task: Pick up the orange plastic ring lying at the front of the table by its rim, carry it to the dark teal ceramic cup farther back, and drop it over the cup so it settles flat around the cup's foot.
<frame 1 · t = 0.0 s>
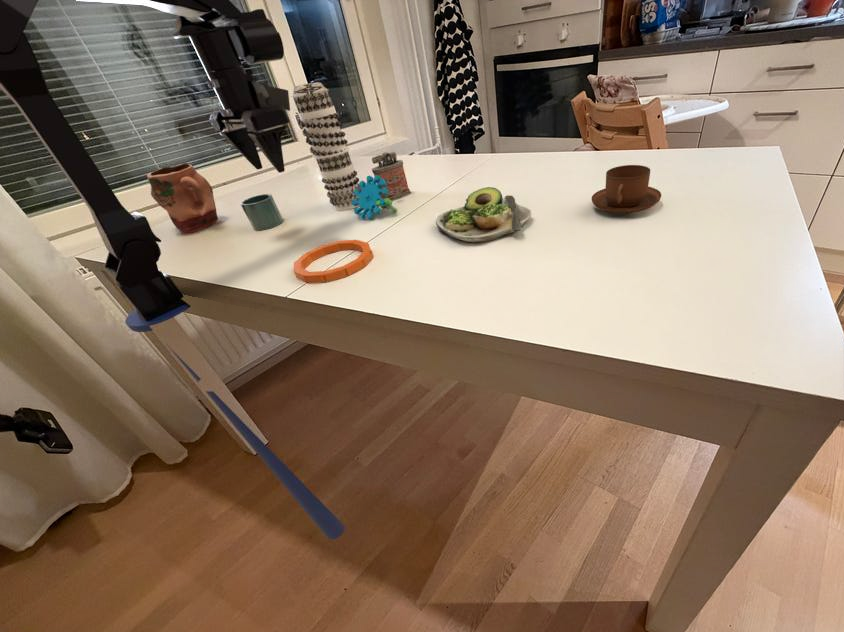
hand: (270, 170, 75), 14 cm above the table, tool pointing down, fingers open, 9 cm apart
avocado toast plate: (484, 224, 77), on the table
decorative planter: (204, 226, 102), on the table
cup and saucer: (624, 207, 73), on the table
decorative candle: (349, 205, 99), on the table
ring: (335, 263, 72), on the table
lighter: (396, 197, 98), on the table
cup: (268, 224, 95), on the table
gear: (377, 215, 90), on the table
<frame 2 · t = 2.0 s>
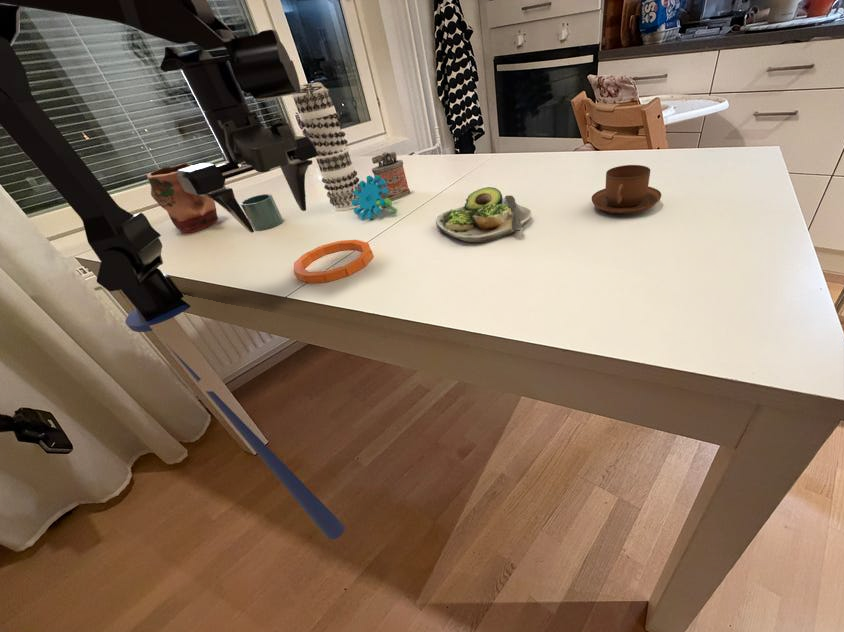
hand: (278, 220, 63), 10 cm above the table, tool pointing down, fingers open, 9 cm apart
nothing on the table moved.
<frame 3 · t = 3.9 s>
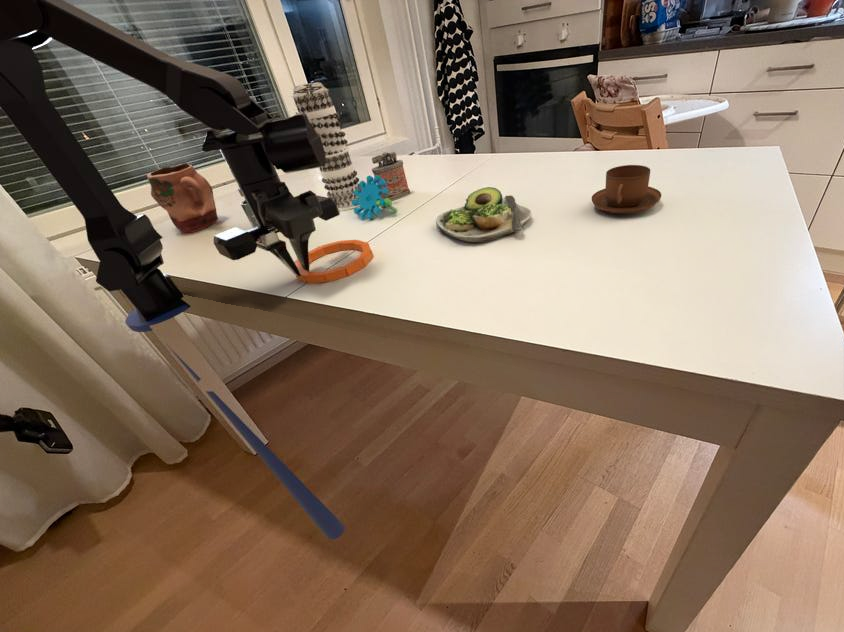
hand: (302, 273, 68), 1 cm above the table, tool pointing down, fingers closed on ring, 1 cm apart
ring: (335, 263, 72), on the table, touching gripper
everything else where it was.
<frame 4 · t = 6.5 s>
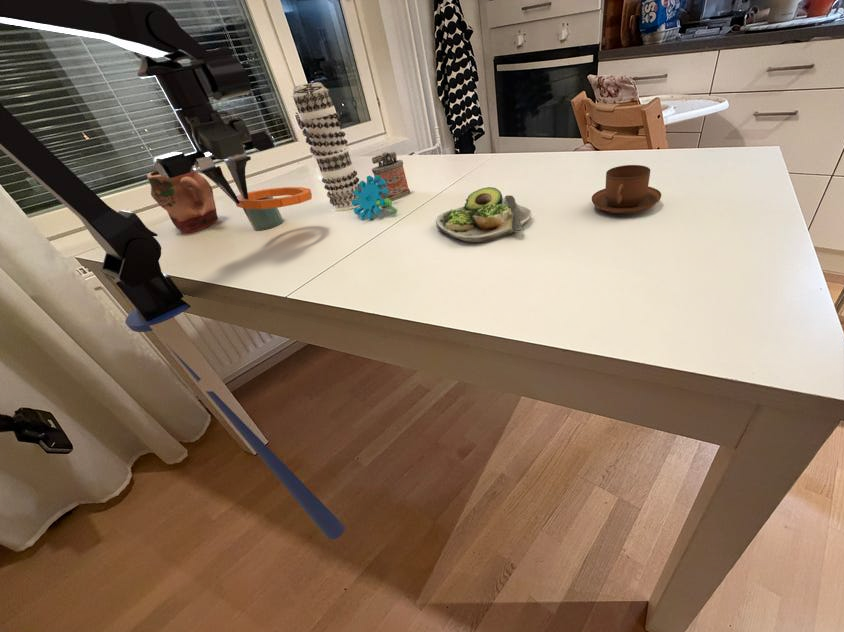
hand: (242, 201, 75), 10 cm above the table, tool pointing down, fingers closed on ring
ring: (275, 201, 79), point 8 cm above the table, tilted 9°, touching gripper
everything else where it was.
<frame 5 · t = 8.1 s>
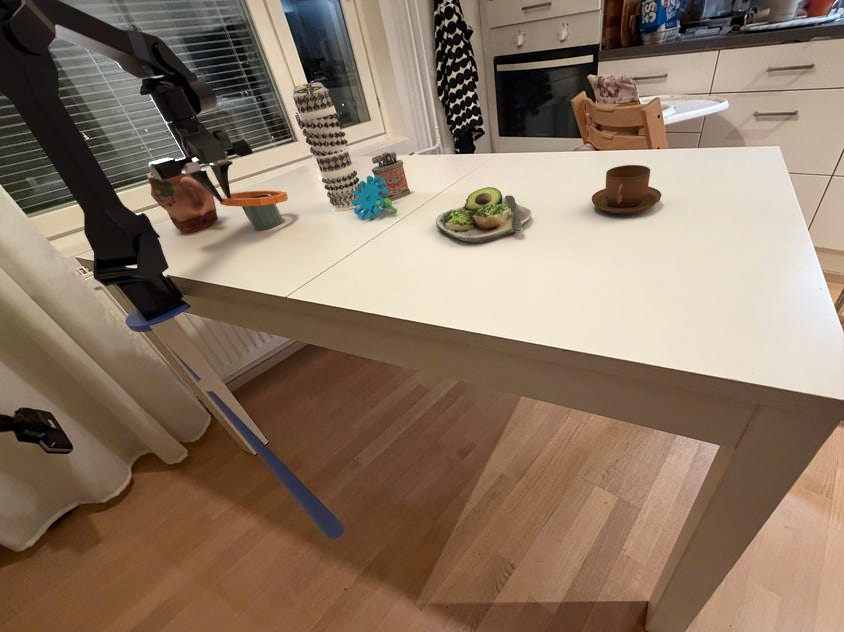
hand: (225, 200, 87), 8 cm above the table, tool pointing down, fingers closed on ring
ring: (255, 201, 91), point 6 cm above the table, tilted 12°, touching gripper
everything else where it was.
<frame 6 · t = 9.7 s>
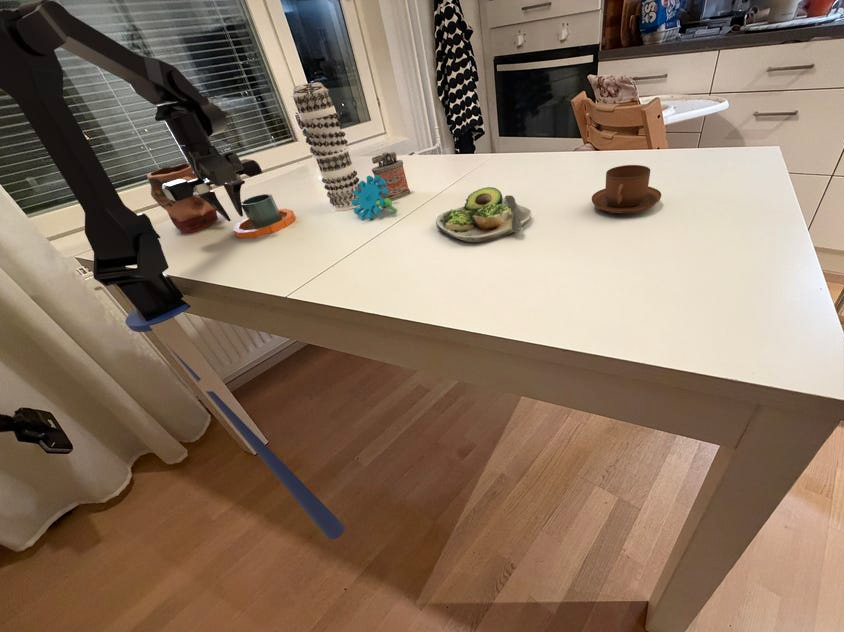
hand: (235, 218, 89), 4 cm above the table, tool pointing down, fingers open, 3 cm apart
ring: (266, 225, 95), on the table
everything else where it was.
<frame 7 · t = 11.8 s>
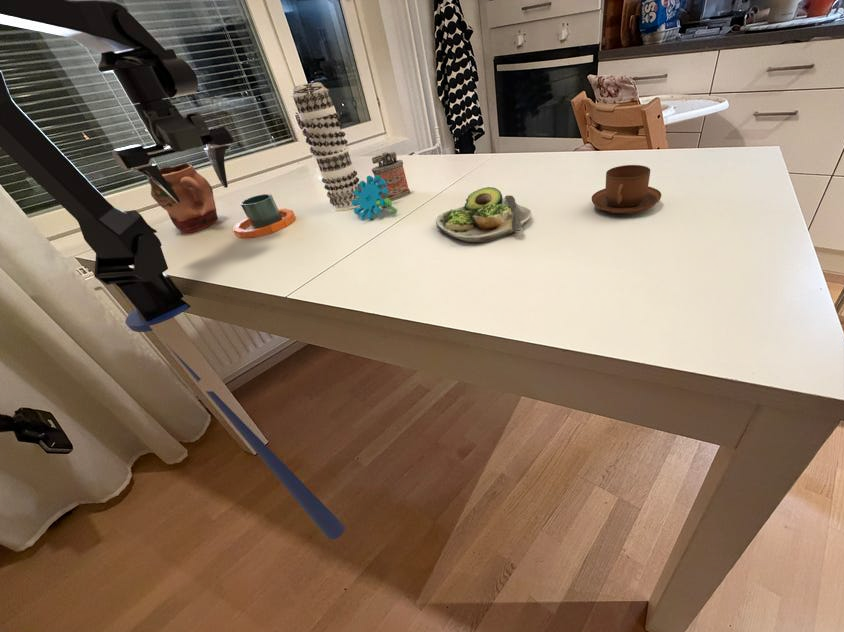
hand: (203, 194, 78), 12 cm above the table, tool pointing down, fingers open, 9 cm apart
nothing on the table moved.
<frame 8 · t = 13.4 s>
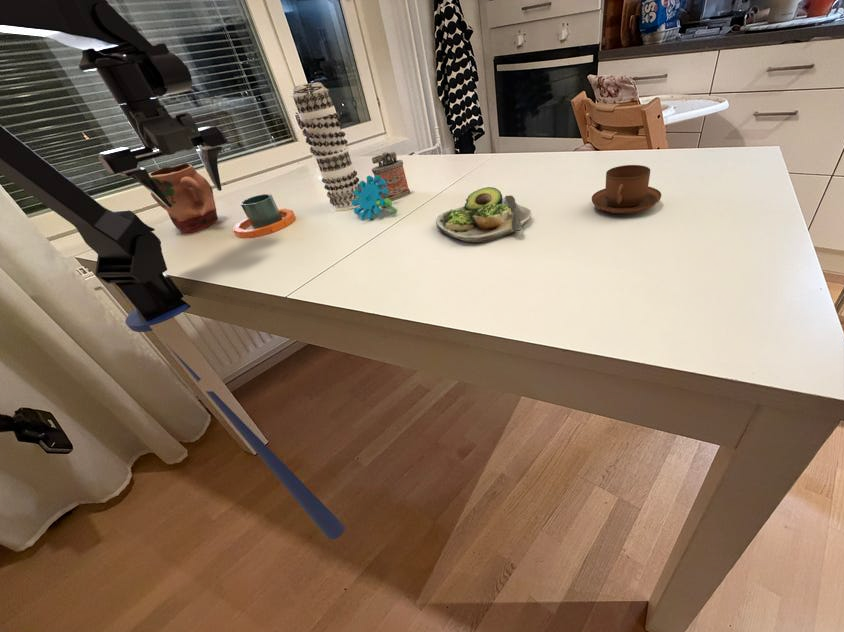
hand: (195, 198, 74), 12 cm above the table, tool pointing down, fingers open, 9 cm apart
nothing on the table moved.
at the end: ring 0.7 cm off-centre in the cup, point 0.0 cm above the cup's base; ring tilted 0°; the gripper is holding nothing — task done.
